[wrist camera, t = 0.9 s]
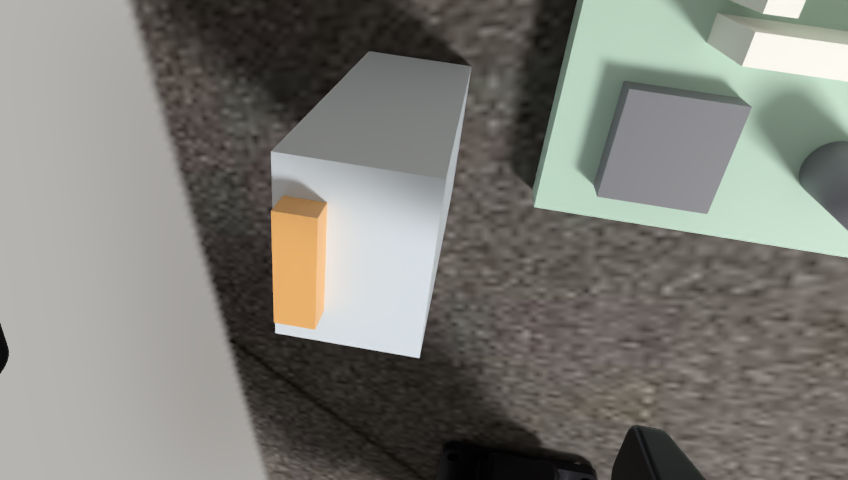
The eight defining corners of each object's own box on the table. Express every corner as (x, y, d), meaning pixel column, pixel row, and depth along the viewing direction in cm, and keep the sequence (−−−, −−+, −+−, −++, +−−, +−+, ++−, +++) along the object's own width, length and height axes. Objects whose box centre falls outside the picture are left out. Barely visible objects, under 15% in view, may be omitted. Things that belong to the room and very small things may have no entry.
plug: (452, 191, 18) (415, 379, 11) (360, 176, 19) (264, 352, 11) (471, 66, 16) (442, 194, 9) (368, 51, 17) (257, 164, 9)
